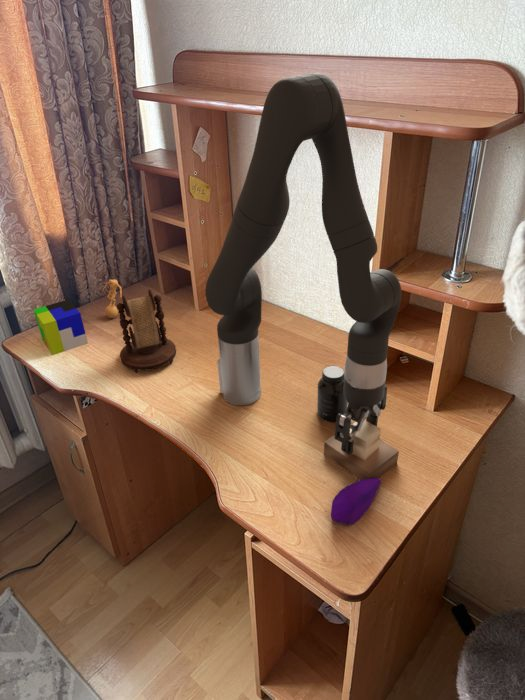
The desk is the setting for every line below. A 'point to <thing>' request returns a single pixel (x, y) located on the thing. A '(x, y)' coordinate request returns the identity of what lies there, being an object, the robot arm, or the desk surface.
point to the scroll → (144, 334)
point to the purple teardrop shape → (354, 501)
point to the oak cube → (366, 440)
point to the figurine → (112, 298)
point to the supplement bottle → (331, 394)
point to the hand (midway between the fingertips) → (359, 440)
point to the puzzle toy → (61, 326)
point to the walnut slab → (358, 467)
